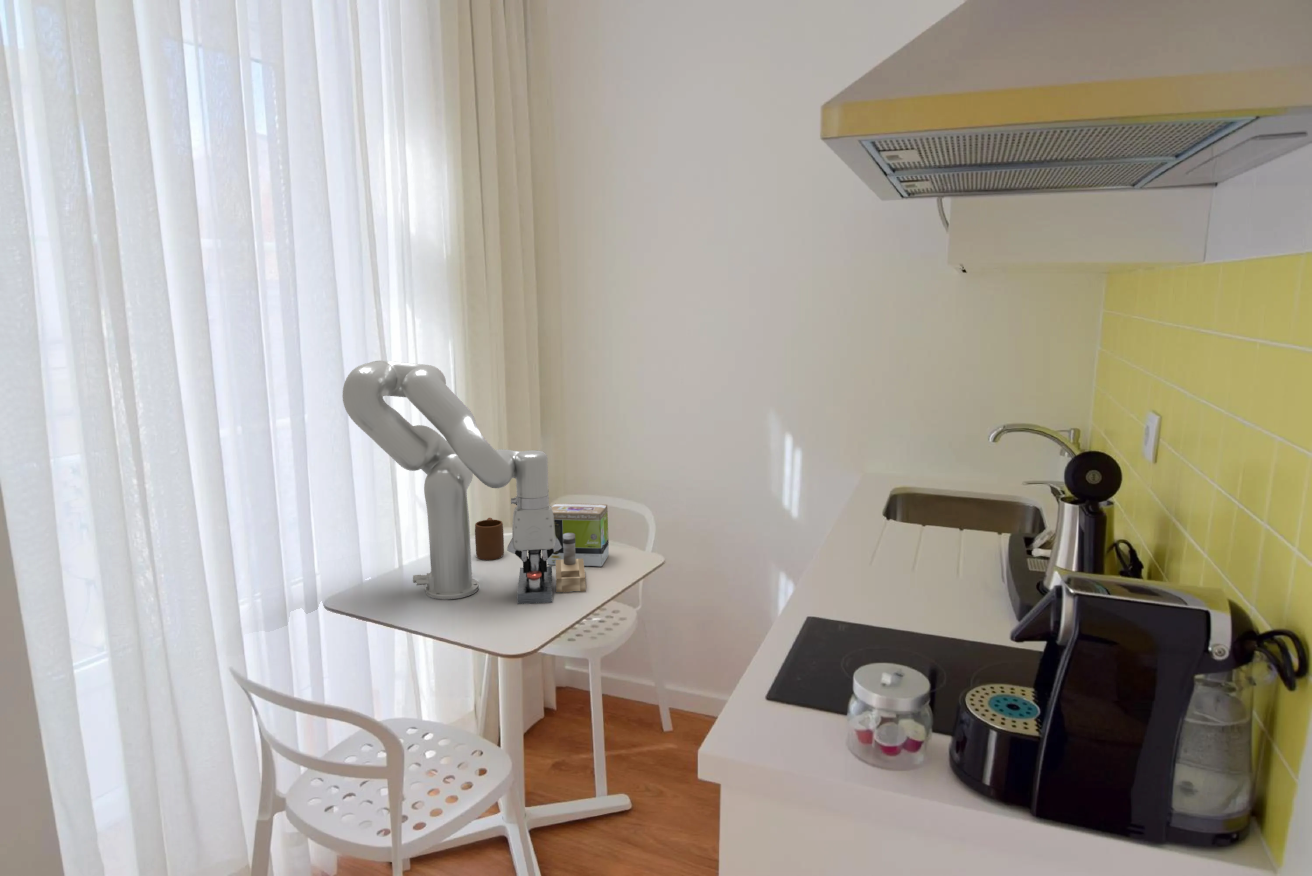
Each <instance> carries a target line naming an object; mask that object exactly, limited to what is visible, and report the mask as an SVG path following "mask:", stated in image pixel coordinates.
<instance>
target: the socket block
mask: <svg viewBox="0 0 1312 876" xmlns="http://www.w3.org/2000/svg"><path fill="white" fill-rule="evenodd" d="M517 583H518V584H517V591H516V599H517V601H516V604H517V605H529V604H550V603H553V565H550V566H548V565H547V572H544V577H542V581H540V592H534V593H529V579H528V578H526V573H523V567H519V574H518V582H517Z"/></svg>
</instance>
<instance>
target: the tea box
mask: <svg viewBox="0 0 1312 876" xmlns="http://www.w3.org/2000/svg"><path fill="white" fill-rule="evenodd" d="M551 507H552V510H553V515H554V524H555V535H556V537H557V538H558V540H559V542H560V543H561V545H562V548H561V549H560V550H558V551H556V552H554V553H553V554H552V555H551V556H550V557H549V558H548V560H547V565H550V566H553V565H555V566H556V560H562V559H564V552H563V534H565V533H574V534H575V555H576V559H583V562H584V567H603V565H604V564H605V562H606V560H607V559H608V557H609V547H610V546H609V517H608V512H609V510H608V504H602V503H599V504H598V503H595V504H594V503H593V504H592V503H591V504H589V503H554V504H553V505H551Z"/></svg>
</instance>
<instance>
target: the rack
mask: <svg viewBox="0 0 1312 876" xmlns="http://www.w3.org/2000/svg"><path fill="white" fill-rule="evenodd" d="M563 552H564V559H562V560H556V565H555V584H556V585H555V591H556V592H563V593H571V592H570V591H582V592H586V588H587V587H586V572H585V566H584V562H583V559H576V555H575V534H574V533H565V534H563Z"/></svg>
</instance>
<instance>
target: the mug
mask: <svg viewBox="0 0 1312 876" xmlns="http://www.w3.org/2000/svg"><path fill="white" fill-rule="evenodd" d="M503 525H504V523H503V521H502V520H499V519H493V518H492V517H488V518H487V519H483V520H479V521H476V522H475V524H474V536H475V537H474V539H475V541H474V542H475V543H474V544H475V555H476V558H478V559H480V560H483V561H493V560H498V559H500V558H502V557H503V556H504V554H505V545H504V543H505V542H504V541H505V537H504V535H505V534H504V526H503Z"/></svg>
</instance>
